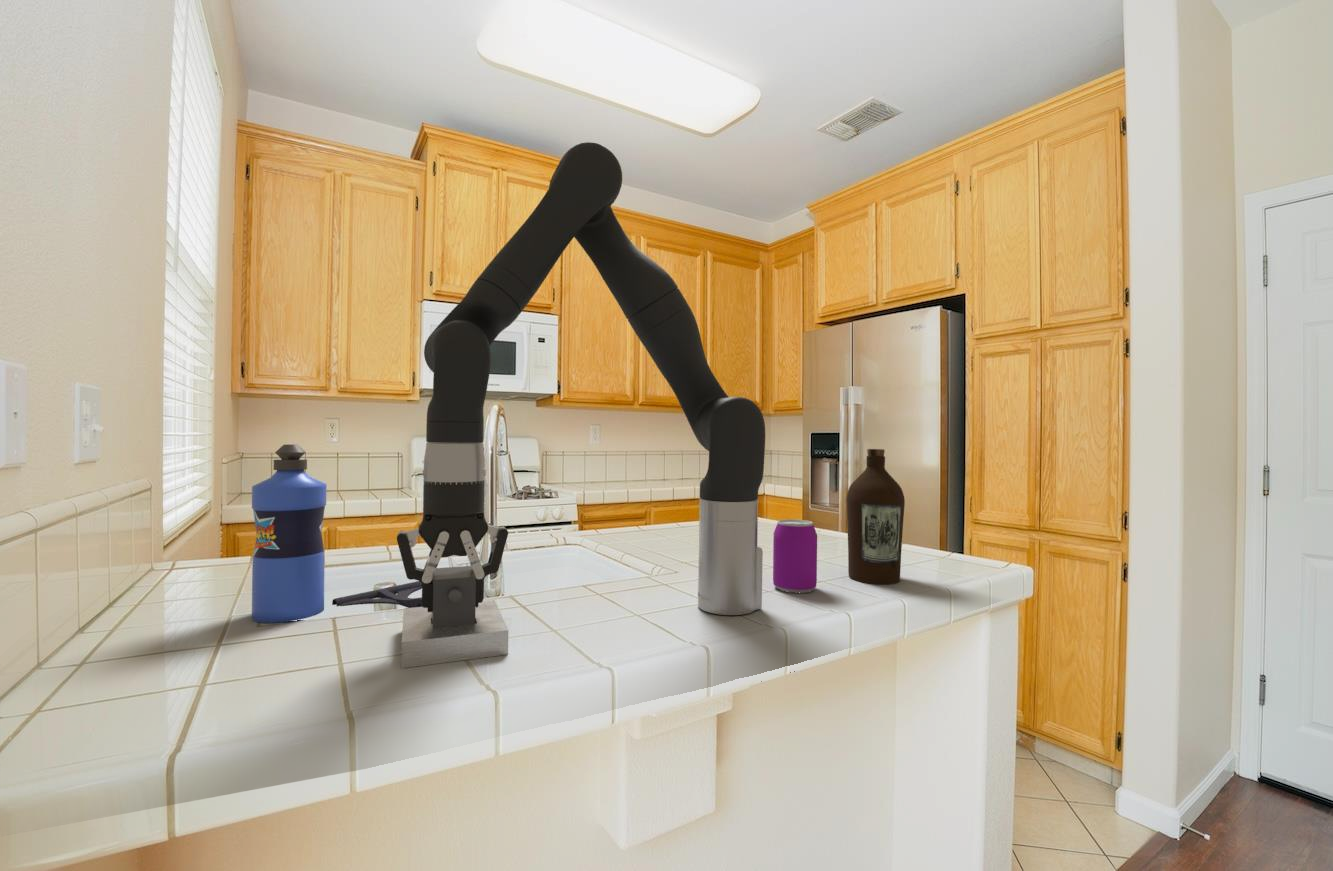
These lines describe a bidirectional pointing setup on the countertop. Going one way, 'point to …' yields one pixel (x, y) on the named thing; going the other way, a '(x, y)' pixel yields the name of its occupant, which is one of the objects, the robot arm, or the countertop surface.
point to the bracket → (385, 596)
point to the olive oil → (875, 523)
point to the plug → (454, 596)
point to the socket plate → (452, 637)
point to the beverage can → (795, 556)
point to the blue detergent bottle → (288, 542)
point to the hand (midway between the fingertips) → (452, 607)
